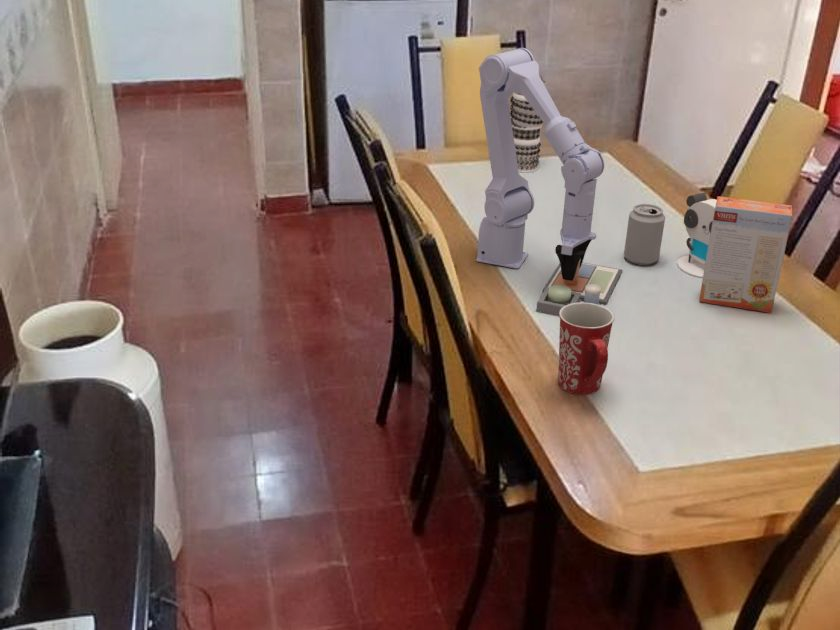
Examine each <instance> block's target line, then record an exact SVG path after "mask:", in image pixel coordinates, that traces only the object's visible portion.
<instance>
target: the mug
mask: <svg viewBox="0 0 840 630" xmlns="http://www.w3.org/2000/svg"><path fill="white" fill-rule="evenodd" d="M565 305H566V306H564V307H562V308H561V309H560V311H559V315H558V316H559V344H558V345H559V347H558V372H557V382H558V385H559V387H560V388H562V389H563V390H564V391H565V392H567V393H571V394H574V395H582V396H583V395H590V394H591V395H592V394H594V393H596V392H598V391H599V390H600V389H601V386H602V380H603V375H604V374H605V372H606V369H607V367H608V366H607V365H608V361H609V352H608V351H609V350H608V349H609V343H610V338H611V333H612V326H613V322H614V321H615V314H614V313H613V312H612V311H611V310H610V309H609V308H607V307H606V306H603V305H602V304H599V305H597V304H593V303H584V301H583V302H581V301H580V303H572V304H570V303H569V304H568V303H567V304H565Z"/></svg>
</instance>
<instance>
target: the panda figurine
mask: <svg viewBox="0 0 840 630" xmlns="http://www.w3.org/2000/svg"><path fill="white" fill-rule="evenodd" d="M707 198H708V197H707V195H706V193H705V192H700V193H695V194H692V195H689V196H687V198H686V206H687V207H689V208H688V209H686V212H685V214H684V216H683V217H684V218H683V225H684V226H685V230H686V232H687V235H688V238H686V246H687V248H688V250H689V252H688V255H683V256H681V257H680V258H679V259H677V261H676V262H677V264H676V265H677V268H678V269H679V270H680V271H681V272H683V273H685V274H686V275H689V276H692V277H694V278H698V279H703V274H704V268H705V262H706V256H707V251H708V245H709V239H710V234H711V228H712V223H713V217H714V212H715V207H716V202H717V199H715V198H710V199H707Z"/></svg>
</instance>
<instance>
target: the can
mask: <svg viewBox="0 0 840 630" xmlns="http://www.w3.org/2000/svg"><path fill="white" fill-rule="evenodd" d="M663 212H664V210H663V208H662V207H660V206H658V205H656V204H652V203H639V204H635V205H634V206H633V208H632V210H631V211H630V212H629V213H628V220H627V221H628V222H627V227H626V228H627V229H626V237H625V241H624V243H625V244H624V250H623V255H624V257H625V258H626V259H627V261H628V260H629V261H630V263H631V264H633V263H634V265H636V264H638V265H637V266H650V265H653V264H654V263H656V262H658V261H659V259H660V253H661V248H662V241H663V234H664V228H665V221H666V216H665V214H664V213H663ZM629 261H628V262H629Z"/></svg>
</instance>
